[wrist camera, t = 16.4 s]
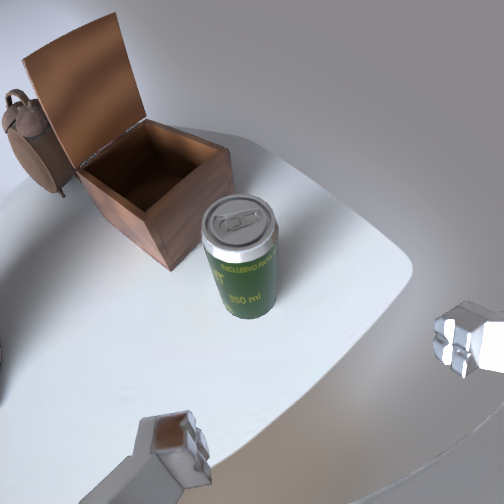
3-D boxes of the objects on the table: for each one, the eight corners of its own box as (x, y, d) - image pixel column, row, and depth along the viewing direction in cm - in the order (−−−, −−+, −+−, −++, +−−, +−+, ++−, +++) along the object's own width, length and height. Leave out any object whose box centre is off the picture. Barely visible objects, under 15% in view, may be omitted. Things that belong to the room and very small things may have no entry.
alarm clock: (100, 177, 42) (52, 71, 25) (70, 209, 39) (8, 104, 22) (59, 162, 46) (18, 79, 30) (34, 188, 43) (-16, 105, 26)
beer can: (265, 267, 32) (261, 183, 22) (284, 311, 29) (291, 239, 19) (216, 282, 31) (190, 204, 21) (232, 329, 28) (209, 265, 18)
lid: (115, 11, 22) (97, 17, 24) (22, 59, 17) (15, 62, 19) (146, 116, 34) (127, 111, 36) (75, 169, 29) (62, 159, 31)
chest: (237, 205, 37) (229, 148, 29) (170, 272, 32) (143, 221, 24) (161, 166, 42) (146, 118, 35) (103, 217, 37) (75, 170, 30)
